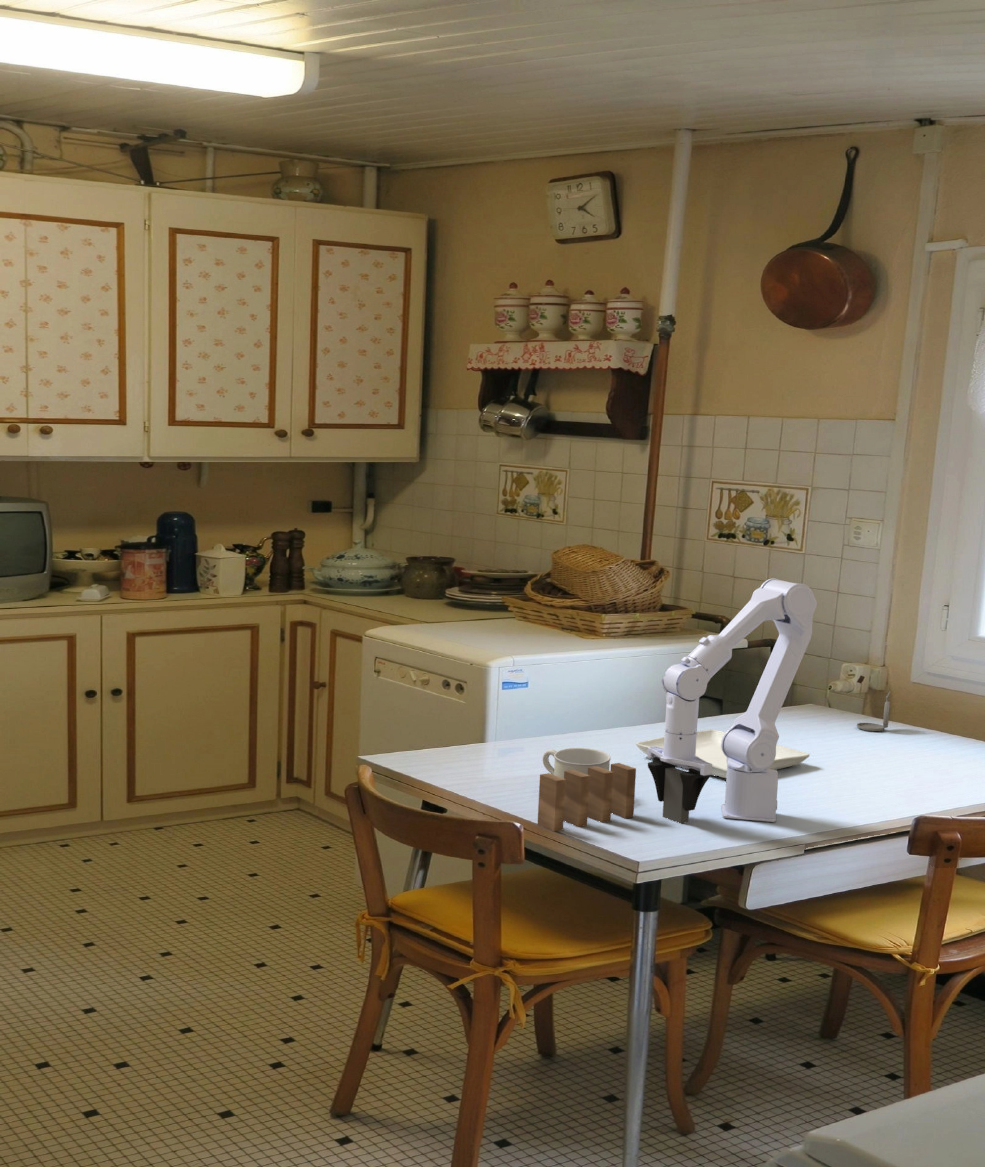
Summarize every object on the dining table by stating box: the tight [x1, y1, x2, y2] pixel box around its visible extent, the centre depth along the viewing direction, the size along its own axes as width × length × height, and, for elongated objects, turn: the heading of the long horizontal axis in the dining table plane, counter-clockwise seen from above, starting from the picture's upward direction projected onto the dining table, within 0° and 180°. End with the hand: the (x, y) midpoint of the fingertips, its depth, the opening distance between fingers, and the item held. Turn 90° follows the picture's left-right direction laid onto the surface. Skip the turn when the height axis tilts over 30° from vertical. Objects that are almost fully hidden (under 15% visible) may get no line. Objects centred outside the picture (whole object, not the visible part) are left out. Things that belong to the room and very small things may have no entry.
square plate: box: [635, 729, 811, 779], centre depth 274 cm, size 27×27×4 cm
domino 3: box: [588, 766, 613, 823], centre depth 227 cm, size 2×5×9 cm, turn 36°
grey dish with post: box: [856, 691, 891, 732], centre depth 314 cm, size 8×8×10 cm
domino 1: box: [536, 772, 566, 833], centre depth 221 cm, size 2×5×9 cm, turn 36°
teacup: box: [542, 747, 611, 779], centre depth 244 cm, size 14×11×8 cm
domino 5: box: [662, 767, 690, 824], centre depth 229 cm, size 2×5×9 cm, turn 36°
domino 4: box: [609, 762, 637, 819], centre depth 231 cm, size 2×5×9 cm, turn 36°
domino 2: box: [563, 770, 590, 828], centre depth 224 cm, size 2×5×9 cm, turn 36°
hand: (676, 805), depth 229 cm, fingers open, 6 cm apart
